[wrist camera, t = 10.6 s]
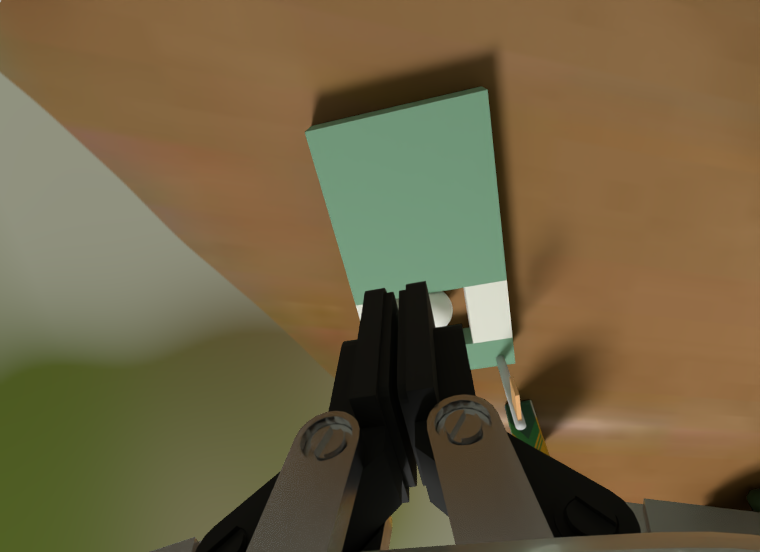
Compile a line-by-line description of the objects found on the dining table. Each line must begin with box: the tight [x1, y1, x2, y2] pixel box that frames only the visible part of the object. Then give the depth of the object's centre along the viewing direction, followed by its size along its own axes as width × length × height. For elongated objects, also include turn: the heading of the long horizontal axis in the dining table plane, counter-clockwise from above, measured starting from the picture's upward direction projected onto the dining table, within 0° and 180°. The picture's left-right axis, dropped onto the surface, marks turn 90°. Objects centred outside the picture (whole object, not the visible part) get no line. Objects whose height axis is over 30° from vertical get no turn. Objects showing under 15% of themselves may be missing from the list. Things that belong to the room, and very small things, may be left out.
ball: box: [429, 291, 453, 327], centre depth 39 cm, size 4×4×4 cm
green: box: [305, 86, 526, 430], centre depth 33 cm, size 13×24×10 cm, turn 13°
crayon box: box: [505, 400, 549, 456], centre depth 42 cm, size 7×3×12 cm, turn 18°
